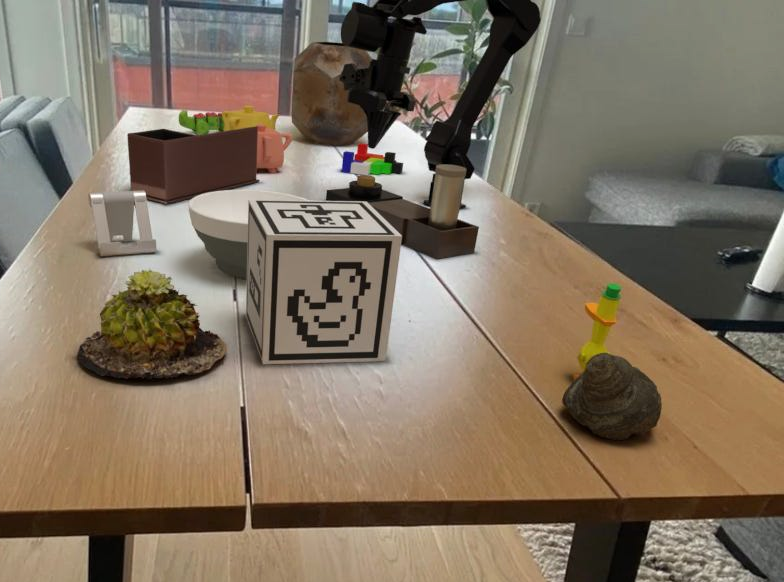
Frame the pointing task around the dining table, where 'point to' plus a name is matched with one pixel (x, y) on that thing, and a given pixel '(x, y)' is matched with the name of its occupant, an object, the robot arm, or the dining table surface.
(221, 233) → the bowl
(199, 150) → the desk organizer
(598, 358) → the seashell
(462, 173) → the tin
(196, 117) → the toy crocodile
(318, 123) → the planter
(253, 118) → the teapot
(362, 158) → the building blocks
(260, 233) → the block
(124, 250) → the tablet stand
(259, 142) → the teapot
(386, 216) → the stepped brown tray
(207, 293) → the dining table surface
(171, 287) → the cactus
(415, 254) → the dining table surface
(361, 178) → the button
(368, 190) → the yellow push button box
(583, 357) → the toy figure
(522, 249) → the dining table surface
